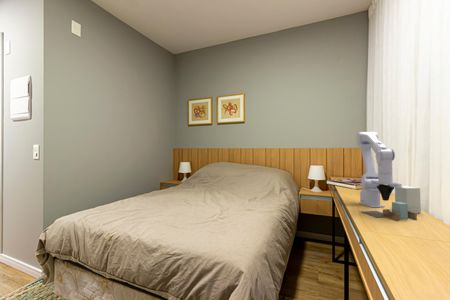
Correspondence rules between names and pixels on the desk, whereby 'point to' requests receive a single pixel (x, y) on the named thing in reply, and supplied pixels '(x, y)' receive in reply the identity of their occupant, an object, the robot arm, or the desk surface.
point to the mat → (374, 213)
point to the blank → (400, 209)
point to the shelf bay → (398, 215)
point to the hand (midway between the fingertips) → (385, 200)
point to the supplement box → (409, 197)
